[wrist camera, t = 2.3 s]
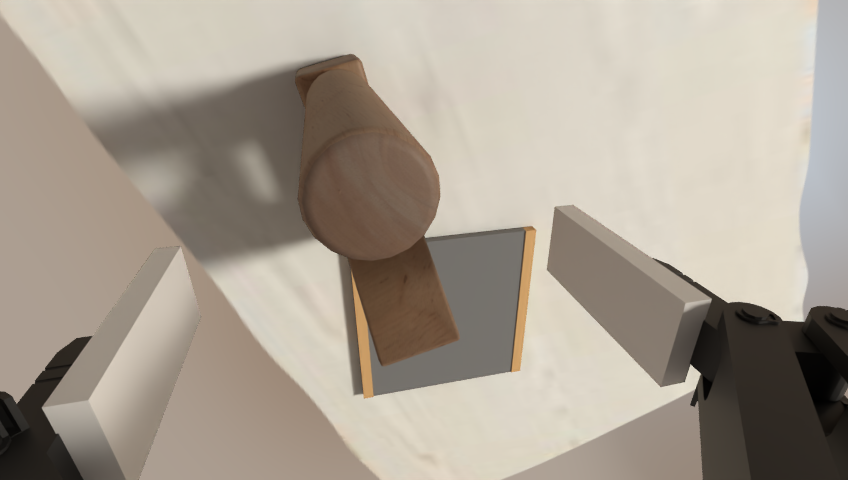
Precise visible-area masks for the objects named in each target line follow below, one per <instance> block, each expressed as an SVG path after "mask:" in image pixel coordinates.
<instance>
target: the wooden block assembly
mask: <svg viewBox="0 0 848 480" xmlns="http://www.w3.org/2000/svg"><path fill="white" fill-rule="evenodd" d="M295 83H296V86H297V88H298V91H299V94H300V96H301V99H302V102H303V104H304V107H305V120H304V132H303V143H302V155H301V167H300V178H299V190H298V202H299V206H300V210H301V214H302V218H303V221H304V222H305V224H306V225H307V227H308V228H309V230H310V231H311V233H312V235H313V236H314V237H315V238H316V239H317V240H318V241H320V242H321V243H322V244H323V245H325V246H326V247H327V248H328V249H330V250H331V251H333V252H335V253H338V254H340V255H343V256H345V257H347V258H348V261H349V265H350V268H351V271H352V275H353V278H354V281H355V285H356V288H357V291H358V294H359V298H360V301H361V304H362V308H363V311H364V314H365V318H366V321H367V324H368V328H369V331H370V334H371V337H372V341H373V344H374V347H375V351H376V354H377V357H378V361H379V362H380V364H381V366H384V367H385V366H388V365H390V364H393V363H396V362H399V361H402V360H404V359H407V358H410V357H413V356H416V355H419V354H421V353H424V352H427V351H430V350H433V349H436V348H438V347H441V346H444V345H447V344H450V343H452V342H455V341H458V340H459V339H460V335H459V331H458V328H457V325H456V322H455V320H454V317H453V314H452V311H451V308H450V306H449V303H448V300H447V297H446V295H445V292H444V289H443V286H442V284H441V281H440V278H439V275H438V272H437V270H436V267H435V264H434V261H433V259H432V256H431V253H430V250H429V248H428V245H427V242H426V239H425V236H424V234H425V233H426V231H427V229H428V228H429V226H430V225H431V223H432V221H433V220H434V218H435V216H436V212H437V208H438V204H439V200H440V185H439V175H438V173H437V170H436V168H435V166H434V163H433V161H432V159H431V156H430V155H429V154H428V153H427V152H426V151H425V149H424V148H423V147H422V146H421V145H420V144H419V143H418V141H417V140H416V139H415V138H414V137H413V136H412V134H411V133H410V132H409V131H408V130H407V129H406V128H405V126H404V125H403V124H402V123H401V122H400V121H399V119H398V118H397V117H396V116H395V115H394V114H393V112H392V111H391V110H390V109H389V108H388V107H387V106H386V104H385V103H384V102H383V101H382V100H381V99H380V97H379V96H378V95H377V94H376V93H375V92H374V91H373V89H372V88H371V87H370V86H369V85H368V82H367V78H366V75H365V72H364V68H363V65H362V62H361V61H360V59H359V58H358V57H356V56H355V55H353V54H349V55H345V56H342V57H338V58H335V59H331V60H328V61H325V62H321V63H318V64H314V65H311V66H308V67H304V68H301V69H299V70H298V71H297V73H296V76H295Z"/></svg>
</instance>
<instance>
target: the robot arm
mask: <svg viewBox="0 0 848 480" xmlns="http://www.w3.org/2000/svg"><path fill="white" fill-rule="evenodd" d="M547 270H548V271H549V272H550V273H551V275H552V276H553V277H554V278H555V279H556V280H557V281H558V282H559V283H560V284H561V285H562V286H563V287H564V288H565V289H566V290H567V291H568V292H569V293H570V294H571V295H572V296H573V297H574V298H575V299H576V300H577V301H578V302H579V303H580V304H581V305H582V306H583V307H584V308H585V310H586V311H587V312H588V313H589V314H590V315H591V316H592V317H593V318H594V319H595V320H596V321H597V322H598V323H599V324H600V325H601V326H602V327H603V328H604V329H605V330H606V331H607V332H608V333H609V334H610V335H611V336H612V337H613V338H614V339H615V340H616V341H617V342H618V343H619V344H620V346H621V347H622V348H623V349H624V350H625V351H626V352H627V353H628V354H629V355H630V356H631V357H632V358H633V359H634V360H635V361H636V362H637V363H638V364H639V365H640V366H641V367H642V368H643V369H644V370H645V371H646V372H647V373H648V374H649V375H650V376H651V377H652V378H653V379H654V381H655V382H656V383H657V384H658V385H659V386H660V387H663V386H668V385H673V384H678V383H682V382H685V379H686V376H687V373H688V370H689V367H690V364H691V365H692V366H693V367H694V368H695V369H696V370H698V371H699V372H700V373H701V375H700V378H699V381H698V384H697V387H696V389H695V392H694V395H693V398H692V401H691V404H690V405H691V406H695V405H696V402H697V401H698V404H699V422H700V438H701V456H702V470H703V471H702V472H703V480H848V399H847V398H846V396H844V394H845V392H846V390H847V388H848V310H845V309H842V308H834V307H828V306H817V307H813V308H811V310H810V312H809V314H808V316H807V318H806V320H805V322H794V321H782V319H781V318H780V317H779V316H777V315H776V314H775V313H773V312H772V311H770V310H767V309H765V308H763V307H761V306H757V305H754V304H750V303H743V302H732V303H727V302H725V301H724V300H722V299H721V298H719V297H718V296H716V295H715V294H713V293H712V292H710V291H709V290H707V289H706V288H704V287H703V286H701V285H700V284H698V283H697V282H693V280H692V279H691V278H689V277H688V276H686V275H683V273H682V272H680V271H679V270H677V269H675V268H674V267H672V266H671V265H669V264H667V263H664V262H662V261H659V260H657V259H654V258H651V257H649V256H648V255H646V254H645V253H643V252H642V251H640V250H639V249H637V248H636V247H635V246H633V245H632V244H630V243H629V242H627V241H626V240H624V239H623V238H621V237H620V236H618V235H617V234H615V233H614V232H612V231H611V230H609V229H608V228H606V227H605V226H604V225H602V224H601V223H599V222H598V221H596V220H595V219H593V218H592V217H590V216H589V215H587V214H586V213H584V212H583V211H581V210H580V209H578V208H577V207H576V206H574V205H567V206H558V207H555V210H554V218H553V226H552V233H551V241H550V249H549V257H548V265H547ZM200 318H201V314H200V310H199V307H198V304H197V300H196V297H195V294H194V290H193V287H192V283H191V279H190V276H189V273H188V269H187V266H186V262H185V259H184V255H183V252H182V248H181V246H176V247H167V248H157V249H154V251H153V252H152V253H151V255H150V256H149V258H148V259H147V260H146V262H145V263H144V265H143V266H142V267H141V269H140V270H139V272H138V273H137V274H136V276H135V277H134V279H133V280H132V281H131V283H130V284H129V286H128V287H127V289H126V290H125V292H124V293H123V294H122V296H121V297H120V298H119V300H118V301H117V303H116V304H115V306H114V307H113V308H112V310H111V311H110V312H109V314H108V315H107V317H106V318H105V320H104V321H103V322H102V324H101V325H100V326H99V328H98V329H97V331H96V332H95V334H94V335H93V336H89V337H81V338H76V339H75V340H74V341H72V342H71V343H70V344H69V345H67V346H65V347H64V348H63V349H61V350H60V351H59V352H57V354H56V355H55V356H54V358H53V359H52V360H51V361H50V362H49V364H48V365H47V366H46V368H45V371H42V373H41V374H40V375H39V376H38V378H37V379H36V380H35V384H32V385H31V387H30V388H29V389H28V391H27V392H26V393H25V394H24V396H23V397H22V398H21V399H20V401H19V402H18V403H17V404H16V402H15V401H14V399H13V397H12V396H11V395H9V394H8V393H6V392H0V480H139V478H140V475H141V472H142V470H143V467H144V465H145V462H146V459H147V457H148V454H149V451H150V449H151V446H152V444H153V441H154V438H155V436H156V433H157V431H158V428H159V425H160V423H161V420H162V418H163V415H164V412H165V410H166V407H167V404H168V402H169V399H170V396H171V394H172V392H173V389H174V386H175V384H176V381H177V378H178V376H179V373H180V371H181V368H182V364H183V363H184V360H185V358H186V355H187V352H188V350H189V347H190V344H191V342H192V339H193V337H194V334H195V331H196V329H197V326H198V324H199V321H200Z"/></svg>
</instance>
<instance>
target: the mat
mask: <svg viewBox="0 0 848 480" xmlns="http://www.w3.org/2000/svg"><path fill="white" fill-rule="evenodd" d="M535 236H536V230H535V229H534V228H533V227H532V226H531V227H522V228H513V229H504V230H495V231H486V232H477V233H468V234H459V235H450V236H441V237H432V238H425V239H426V242H427V245H428V248H429V250H430V253H431V256H432V259H433V261H434V264H435V267H436V270H437V272H438V275H439V278H440V281H441V284H442V286H443V289H444V292H445V295H446V297H447V300H448V303H449V306H450V308H451V311H452V314H453V317H454V320H455V322H456V325H457V328H458V331H459V335H460V339H459V340H458V341H455V342H452V343H450V344H447V345H444V346H441V347H438V348H436V349H433V350H430V351H427V352H424V353H421V354H419V355H416V356H413V357H410V358H407V359H404V360H402V361H399V362H396V363H393V364H390V365H388V366H385V367H384V366H381V364H380V362H379V361H378V357H377V354H376V351H375V347H374V344H373V341H372V337H371V334H370V331H369V328H368V324H367V321H366V318H365V314H364V311H363V308H362V304H361V301H360V298H359V294H358V291H357V288H356V285H355V281H354V278H353V275H352V271H351V276H352V286H353V296H354V306H355V316H356V326H357V336H358V346H359V356H360V366H361V376H362V386H363V395H364V398H370V397H374V396H376V395H381V394H387V393H393V392H398V391H404V390H410V389H415V388H421V387H426V386H432V385H438V384H443V383H449V382H454V381H460V380H466V379H471V378H477V377H483V376H488V375H494V374H499V373H505V372H515V371H520V365H521V357H522V348H523V340H524V331H525V322H526V314H527V305H528V296H529V288H530V279H531V270H532V262H533V253H534V245H535Z"/></svg>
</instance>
